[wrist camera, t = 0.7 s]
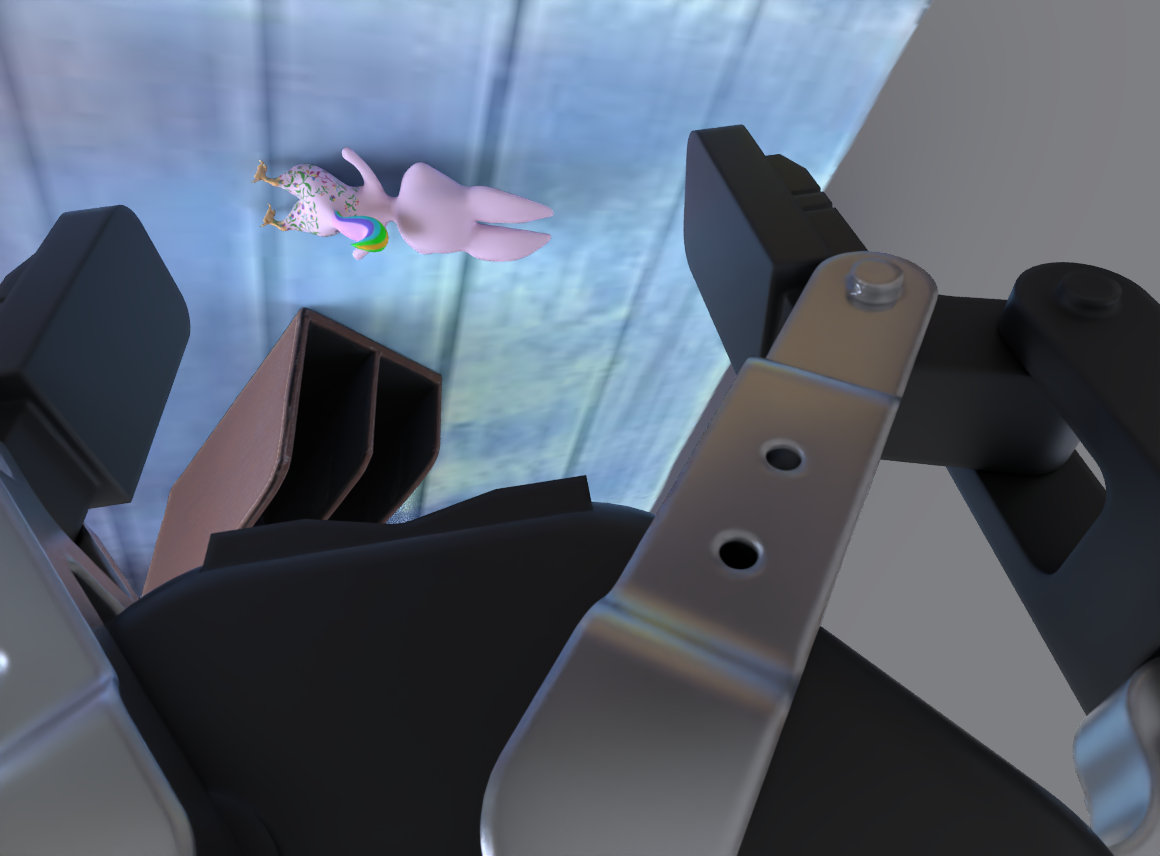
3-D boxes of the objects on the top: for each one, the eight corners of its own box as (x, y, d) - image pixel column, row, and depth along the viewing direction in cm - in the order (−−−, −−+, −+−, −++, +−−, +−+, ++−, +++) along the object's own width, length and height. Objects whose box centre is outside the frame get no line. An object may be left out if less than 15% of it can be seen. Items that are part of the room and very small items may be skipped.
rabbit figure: (284, 227, 41) (548, 259, 42) (247, 288, 37) (542, 321, 38) (263, 116, 37) (559, 155, 38) (220, 170, 33) (554, 211, 34)
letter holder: (170, 485, 53) (112, 669, 43) (302, 301, 43) (266, 482, 34) (302, 528, 58) (277, 700, 48) (444, 373, 49) (448, 546, 39)
